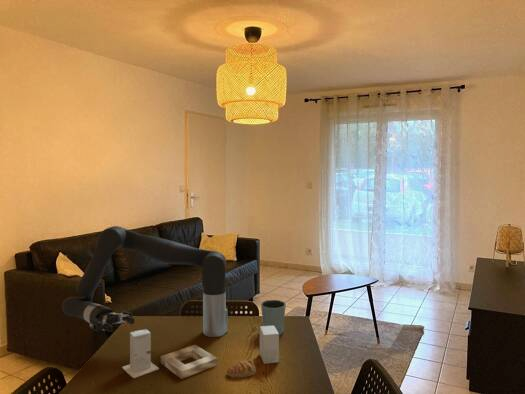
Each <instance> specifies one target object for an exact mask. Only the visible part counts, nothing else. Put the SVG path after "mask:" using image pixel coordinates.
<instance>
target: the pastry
mask: <svg viewBox="0 0 525 394" xmlns="http://www.w3.org/2000/svg"><path fill="white" fill-rule="evenodd" d="M256 369H257V368H256V366H255V363H254V361H253V360H252V359H247V360H239V361H238V362H236V363H235V364H234V365H231V366H230V367H228V368H227V371H226V375H227V376H228V377H230V378H232V379H233V378H234V379H235V378H246V377H251V376H254V375H255V374H256V373H257V370H256Z"/></svg>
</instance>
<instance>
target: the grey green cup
mask: <svg viewBox="0 0 525 394" xmlns="http://www.w3.org/2000/svg"><path fill="white" fill-rule="evenodd" d="M260 307H261V308H260V309H261V316H262V317H261V318H262V320H261V321H262V326H275V328H276V330H277V331H278V333H279V336H282V335H283V334H284V331H285V315H286V307H287V306H286V302H285V301H283V300H281V299H268V300H264V301H262V302H261V303H260ZM282 333H283V334H282Z"/></svg>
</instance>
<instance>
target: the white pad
mask: <svg viewBox="0 0 525 394" xmlns="http://www.w3.org/2000/svg"><path fill="white" fill-rule="evenodd" d="M121 368H122V370H123V371H125V372H126V373H127V375H129V376H130V377H132V379H136V378H139V377H141V376H144V375H147V374H150V373H152V372H155V371H158V370H160V368H159V367H158V366H157V365H156V364H154V363H153V362H152V361H151V367H150V368H147V369H143V370H139V371H135V372H133V370H132V369H131V367H130V363H129V364H127V365H124V366H122V367H121Z"/></svg>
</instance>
